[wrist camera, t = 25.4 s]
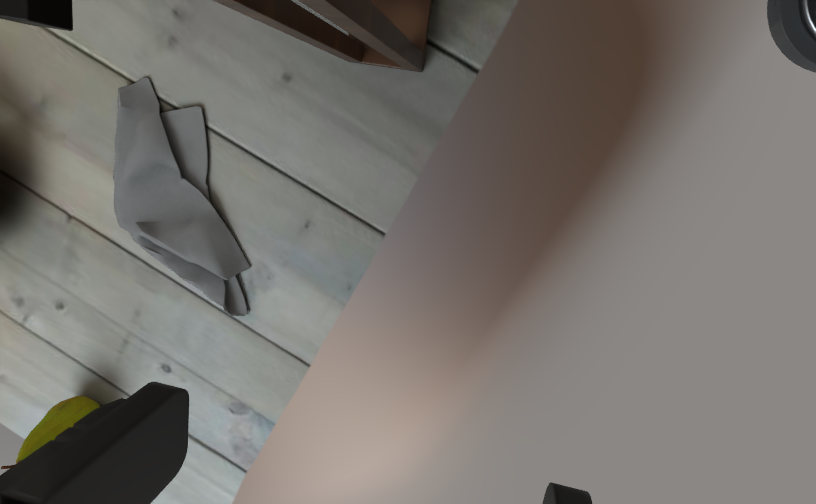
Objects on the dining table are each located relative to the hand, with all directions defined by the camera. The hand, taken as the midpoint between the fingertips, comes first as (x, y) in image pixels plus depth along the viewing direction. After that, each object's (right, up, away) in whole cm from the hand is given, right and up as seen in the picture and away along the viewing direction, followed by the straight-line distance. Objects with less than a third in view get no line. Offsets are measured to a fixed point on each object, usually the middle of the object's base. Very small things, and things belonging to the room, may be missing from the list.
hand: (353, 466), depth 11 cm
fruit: (-38, -15, +51) cm, 65 cm away
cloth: (-24, +10, +42) cm, 49 cm away
